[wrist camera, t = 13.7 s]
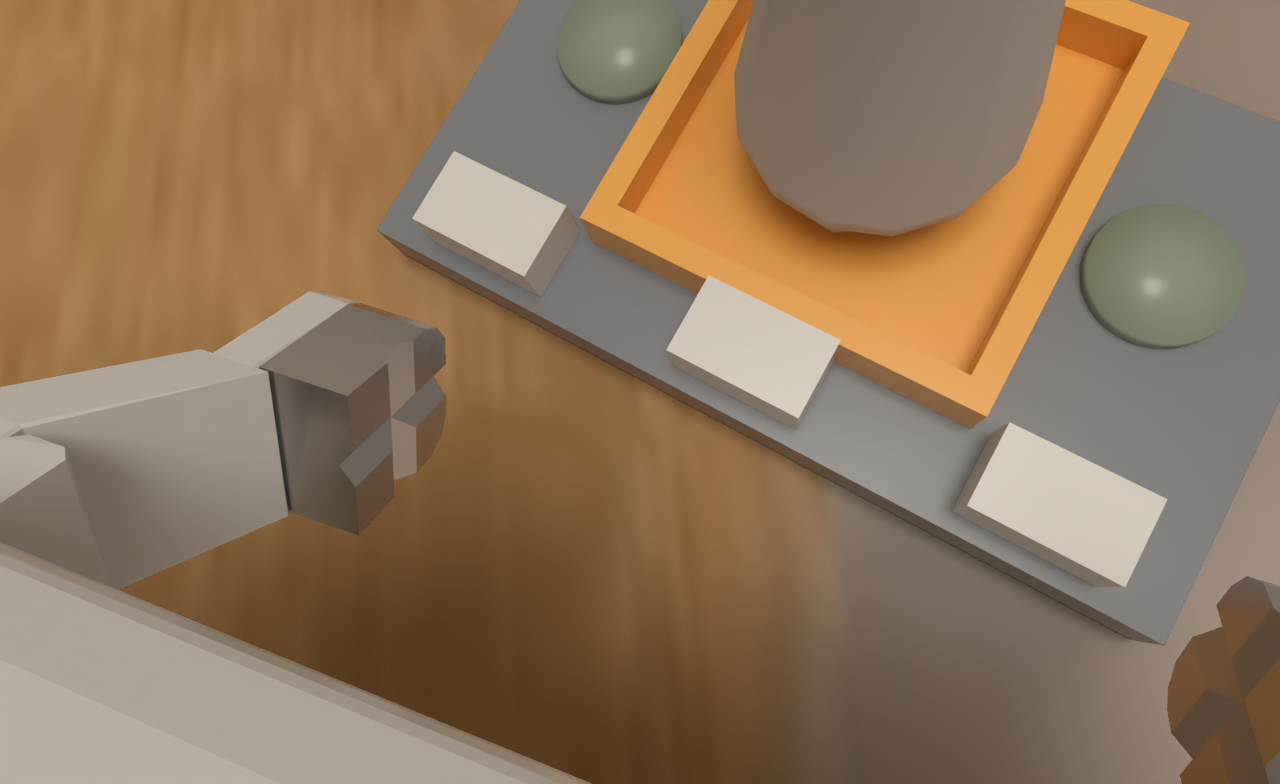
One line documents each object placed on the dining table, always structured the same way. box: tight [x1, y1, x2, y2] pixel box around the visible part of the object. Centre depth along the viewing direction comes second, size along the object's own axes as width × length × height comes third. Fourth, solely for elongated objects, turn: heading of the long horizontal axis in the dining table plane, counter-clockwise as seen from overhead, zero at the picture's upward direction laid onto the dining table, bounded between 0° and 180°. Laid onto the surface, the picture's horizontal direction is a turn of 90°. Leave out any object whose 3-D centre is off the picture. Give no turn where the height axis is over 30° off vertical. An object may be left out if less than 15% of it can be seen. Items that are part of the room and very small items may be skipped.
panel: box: [377, 0, 1280, 645], centre depth 19 cm, size 19×11×3 cm, turn 60°
